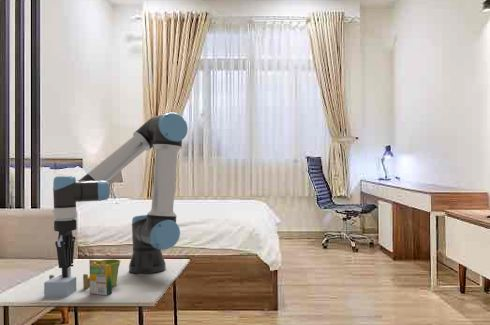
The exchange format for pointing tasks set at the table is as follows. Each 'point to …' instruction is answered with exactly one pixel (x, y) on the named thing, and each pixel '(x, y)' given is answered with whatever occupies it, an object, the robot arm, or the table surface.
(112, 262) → the plant pot
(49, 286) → the block
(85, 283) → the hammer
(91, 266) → the crayon box
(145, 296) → the table surface
